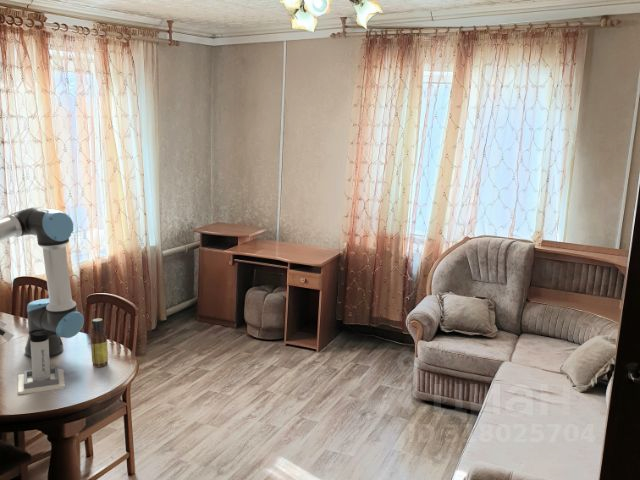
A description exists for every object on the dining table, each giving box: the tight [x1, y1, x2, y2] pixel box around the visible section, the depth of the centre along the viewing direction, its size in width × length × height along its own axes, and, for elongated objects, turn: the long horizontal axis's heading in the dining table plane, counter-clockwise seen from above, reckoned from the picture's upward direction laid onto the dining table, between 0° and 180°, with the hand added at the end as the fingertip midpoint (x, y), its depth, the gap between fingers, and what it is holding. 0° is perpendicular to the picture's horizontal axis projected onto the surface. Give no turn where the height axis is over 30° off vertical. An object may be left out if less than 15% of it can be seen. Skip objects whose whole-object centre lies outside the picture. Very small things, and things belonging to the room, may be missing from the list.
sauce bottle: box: [90, 317, 109, 368], centre depth 247 cm, size 7×6×20 cm
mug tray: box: [17, 366, 66, 396], centre depth 231 cm, size 16×16×3 cm
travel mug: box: [28, 330, 51, 382], centre depth 229 cm, size 6×7×20 cm
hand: (7, 332), depth 220 cm, fingers open, 13 cm apart
